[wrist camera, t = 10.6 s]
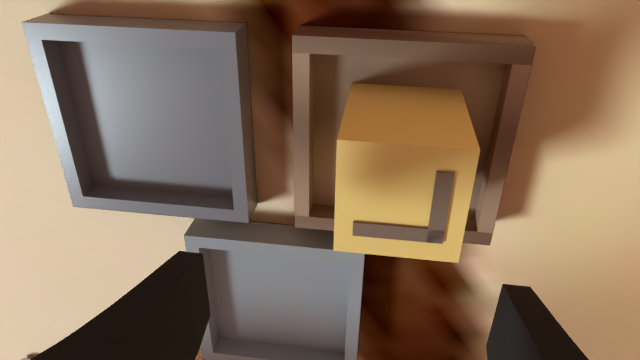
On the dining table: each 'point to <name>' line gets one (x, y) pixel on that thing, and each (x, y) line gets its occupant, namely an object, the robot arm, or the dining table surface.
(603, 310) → the dining table surface
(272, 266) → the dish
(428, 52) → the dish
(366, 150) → the letter cube
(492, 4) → the dining table surface
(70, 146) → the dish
